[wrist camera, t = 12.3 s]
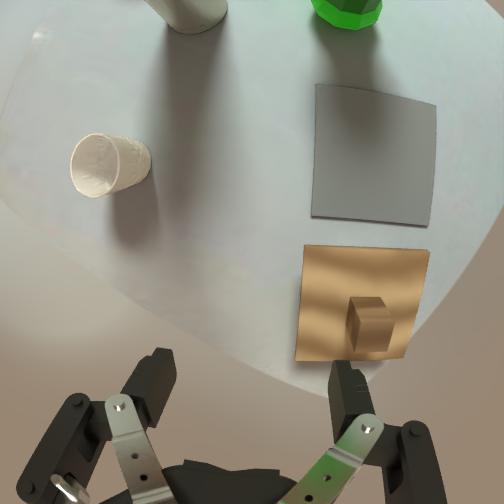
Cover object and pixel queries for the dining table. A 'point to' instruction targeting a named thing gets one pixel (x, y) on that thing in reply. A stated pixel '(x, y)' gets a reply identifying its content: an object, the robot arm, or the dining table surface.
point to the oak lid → (358, 302)
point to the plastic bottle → (348, 12)
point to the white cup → (108, 164)
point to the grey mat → (373, 156)
